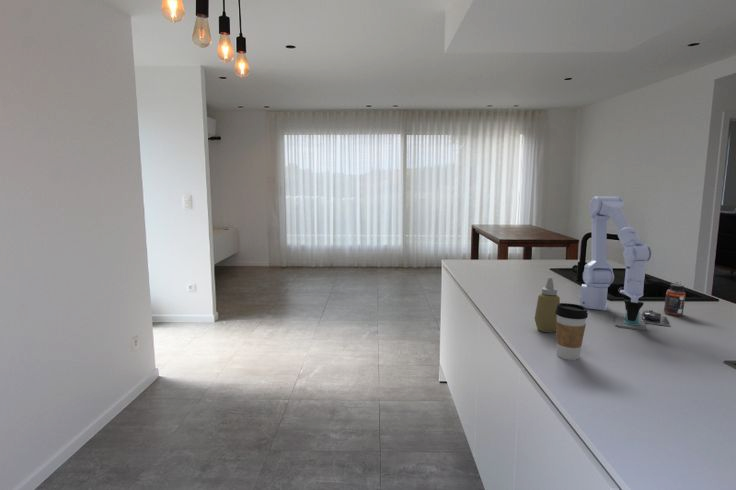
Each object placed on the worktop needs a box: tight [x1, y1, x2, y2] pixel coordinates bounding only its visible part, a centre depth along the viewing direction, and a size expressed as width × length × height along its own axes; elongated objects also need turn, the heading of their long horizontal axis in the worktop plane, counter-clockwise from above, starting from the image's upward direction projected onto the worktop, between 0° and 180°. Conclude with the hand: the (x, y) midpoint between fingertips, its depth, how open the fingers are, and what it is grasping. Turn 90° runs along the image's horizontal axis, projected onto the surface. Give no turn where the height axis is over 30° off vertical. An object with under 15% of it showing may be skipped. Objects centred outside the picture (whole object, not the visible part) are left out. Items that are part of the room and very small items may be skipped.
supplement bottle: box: [663, 283, 686, 317], centre depth 162 cm, size 6×6×11 cm
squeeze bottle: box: [534, 277, 561, 333], centre depth 143 cm, size 8×8×18 cm
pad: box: [614, 317, 647, 332], centre depth 150 cm, size 9×9×1 cm
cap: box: [624, 309, 640, 326], centre depth 150 cm, size 5×5×5 cm
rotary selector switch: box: [639, 309, 670, 327], centre depth 155 cm, size 10×10×3 cm
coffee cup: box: [555, 302, 589, 361], centre depth 123 cm, size 8×8×15 cm
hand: (630, 317), depth 150 cm, fingers open, 7 cm apart
